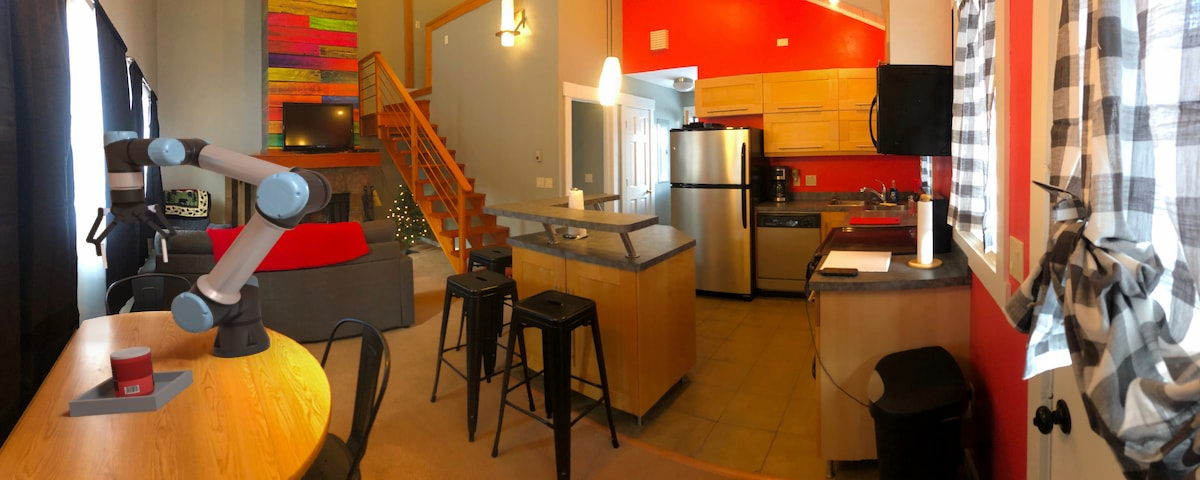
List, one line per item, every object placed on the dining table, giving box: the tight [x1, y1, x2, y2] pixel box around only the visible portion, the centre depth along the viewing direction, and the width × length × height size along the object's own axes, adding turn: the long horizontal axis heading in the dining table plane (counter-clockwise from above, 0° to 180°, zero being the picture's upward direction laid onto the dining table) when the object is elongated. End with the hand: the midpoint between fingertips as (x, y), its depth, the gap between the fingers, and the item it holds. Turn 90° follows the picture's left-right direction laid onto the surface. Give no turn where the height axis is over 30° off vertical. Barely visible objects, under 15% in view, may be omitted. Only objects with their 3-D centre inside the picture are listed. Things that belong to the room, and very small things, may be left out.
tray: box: [68, 369, 194, 418], centre depth 153 cm, size 18×18×4 cm
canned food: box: [109, 346, 155, 398], centre depth 153 cm, size 8×8×11 cm
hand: (136, 264), depth 175 cm, fingers open, 13 cm apart
